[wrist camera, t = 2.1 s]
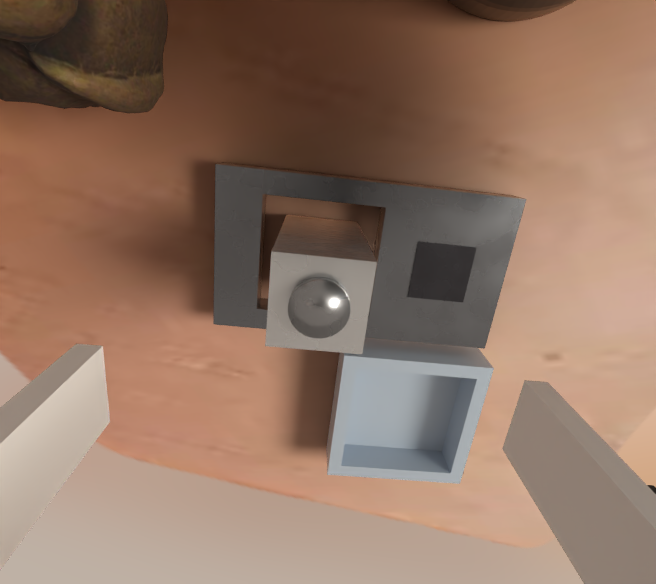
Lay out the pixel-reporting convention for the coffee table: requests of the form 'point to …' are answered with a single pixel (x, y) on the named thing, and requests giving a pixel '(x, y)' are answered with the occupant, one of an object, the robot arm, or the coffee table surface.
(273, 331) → the knob block
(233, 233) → the grey slotted plate
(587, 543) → the robot arm
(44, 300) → the coffee table surface
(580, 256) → the coffee table surface
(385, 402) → the tray
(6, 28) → the sculpture
